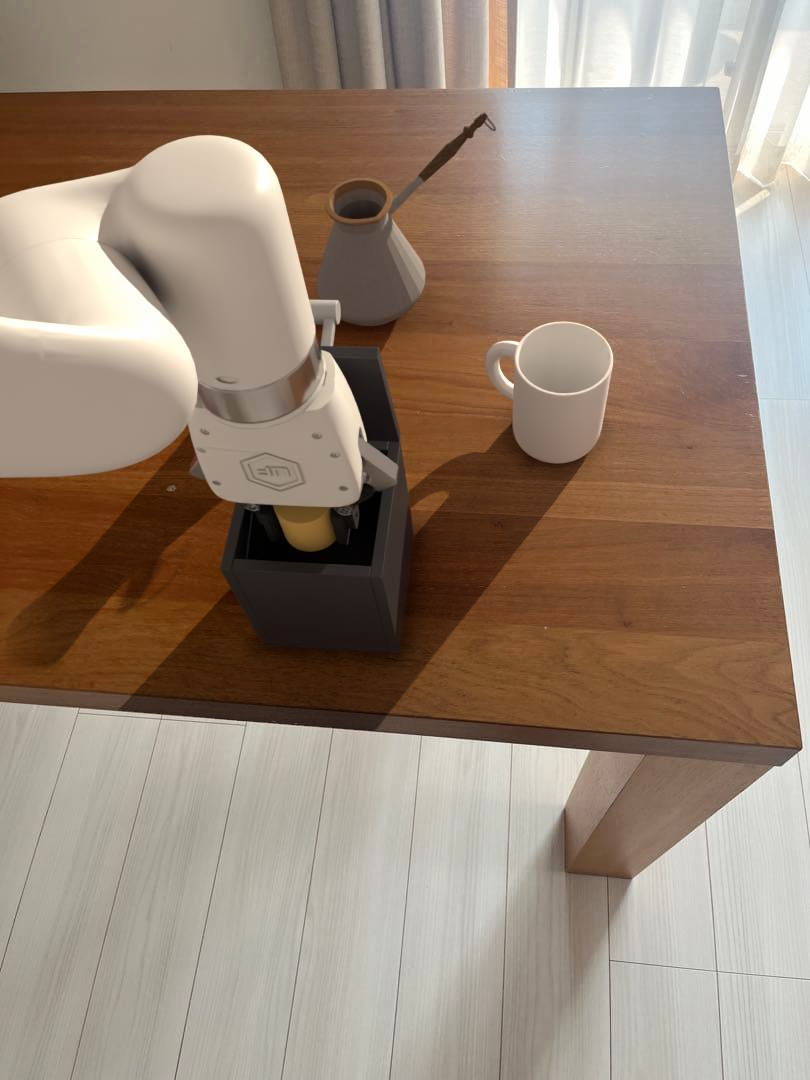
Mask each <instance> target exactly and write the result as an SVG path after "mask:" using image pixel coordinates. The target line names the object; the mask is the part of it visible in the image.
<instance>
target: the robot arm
mask: <svg viewBox="0 0 810 1080" xmlns="http://www.w3.org/2000/svg"><path fill="white" fill-rule="evenodd" d="M290 221H291V220H290V218H289V214H288V210H287V206H286V202H285V197H284V194H283V191H282V188H281V184H280V181H279V177H278V176H277V174H276V172H275V170H274V169H273V166H272V165H271V164H270V163H269V162H268V160H267V159H266V158H265V157H264V155H262V154H261V153H260V152H259V151H257V149H255V148H253V147H252V146H250V145H249V144H247V143H246V142H243V141H241V140H240V139H236V138H232V137H228V136H223V135H211V134H207V135H206V134H205V135H203V134H202V135H201V134H200V135H193V136H187V137H182V138H179V139H176V140H173V141H170V142H167V143H165V144H163V145H161V146H159V147H157V148H155V149H154V150H152V151H151V152H149V153H148V154H147V155H145V156H144V157H142V159H140V160H139V161H138V162H137V163H136V164H135V165H133V166H130V167H127V168H123V169H118V170H115V171H110V172H105V173H102V174H96V175H91V176H87V177H82V178H76V179H72V180H67V181H62V182H56V183H51V184H46V185H41V186H36V187H31V188H27V189H24V190H20V191H17V192H13V193H10V194H7V195H4V196H2V197H0V479H3V478H4V479H5V478H7V479H9V478H12V479H13V478H55V477H56V478H58V477H74V476H85V475H93V474H101V473H106V472H110V471H111V472H112V471H115V470H120V469H123V468H124V469H125V468H127V467H130V466H132V465H135V464H138V463H140V462H144V461H146V460H148V459H150V458H152V457H153V456H156V455H157V454H159V453H160V452H162V451H163V450H164V449H166V448H167V447H168V446H169V445H171V444H172V443H173V442H174V441H176V439H178V437H179V436H180V435H181V434H182V433H183V432H184V431H185V429H186V427H188V431H189V435H190V439H191V442H192V446H193V449H194V452H195V454H194V455H193V457H192V460H191V464H190V469H189V470H188V473H189V475H190V476H192V477H193V478H196V479H199V480H201V481H204V482H206V483H207V484H208V486H209V488H210V489H211V491H212V492H213V493H214V494H215V495H216V496H217V497H218V498H220V499H222V500H225V501H228V502H234V503H236V502H239V503H243V506H244V507H245V508H246V509H247V510H250V511H254V512H255V514H256V516H257V518H258V520H259V523H260V524H262V525H264V527H265V530H266V532H267V534H268V537H269V539H270V541H278V540H280V539H281V536H282V531H283V530H282V527H281V525H280V523H279V520H278V518H277V515H276V513H275V510H274V508H273V505H288V506H313V507H332V508H331V514H330V519H331V523H332V526H333V529H334V532H335V536H336V539H337V542H338V543H340V544H341V545H348V541H349V535H350V529H357V528H358V523H359V508H358V504H360V503H362V502H363V501H365V500H367V499H369V498H370V497H372V496H373V492H375V491H378V492H379V491H382V490H385V489H387V488H390V487H393V486H395V485H397V483H398V475H399V466H398V465H397V464H396V463H394V462H393V461H392V460H390V459H389V458H388V457H386V456H385V455H384V454H382V453H381V452H380V451H378V450H377V449H376V448H374V447H373V446H372V445H370V444H369V443H367V438H366V433H365V430H364V426H363V423H362V419H361V416H360V413H359V410H358V407H357V404H356V402H355V399H354V397H353V394H352V392H351V390H350V387H349V385H348V383H347V381H346V379H345V377H344V375H343V373H342V372H341V370H340V368H339V366H338V365H337V363H336V362H335V360H334V359H333V357H332V355H331V354H330V353H329V352H326V351H322V350H321V347H320V345H321V342H320V340H319V336H318V331H317V328H316V327H317V326H316V324H315V323H314V318H313V314H312V310H311V306H310V302H309V300H310V299H309V293H308V290H307V287H306V282H305V278H304V274H303V271H302V266H301V262H300V257H299V254H298V249H297V246H296V242H295V237H294V234H293V230H292V225H291V222H290Z"/></svg>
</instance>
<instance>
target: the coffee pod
mask: <svg viewBox="0 0 810 1080" xmlns="http://www.w3.org/2000/svg"><path fill="white" fill-rule="evenodd" d="M273 508H274V510H275V513H276V515H277V518H278V520H279V523H280V525H281V527H282V530H283V532H284V535H285V537H286V539H287V541H288V542H289V543H290V544H291V545H292V546H293V547H295V548H297V549H299V550H302V551H308V552H313V551H319V550H322V549H324V548H326V547H328V546H330V545H331V544H332V543H333V542H334V541H335V540H336V536H335V532H334V529H333V526H332V523H331V519H330V514H331V508H332V507H313V506H288V505H273Z"/></svg>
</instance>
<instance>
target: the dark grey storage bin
mask: <svg viewBox="0 0 810 1080" xmlns="http://www.w3.org/2000/svg"><path fill="white" fill-rule="evenodd" d="M367 443H369V444H370V445H372V446H373V447H374V448H376V449H377V450H378V451H380V452H381V453H382V454H384V455H385V456H386V457H388V458H389V459H390V460H392V461H393V462H394V463H396V464H397V465H398V466H399V475H398V483H397V485H395V486H393V487H390V488H387V489H385V490H382V491H379V492H378V491H375V492H373V496H372V497H370V498H369V499H367V500H365V501H363V502H362V503H360V504H358V508H359V523H358V528H357V529H350V535H349V541H348V545H341V544H340V543H338V542H337V539H336V540H335V541H334V542H333V543H332V544H331V545H330V546H328V547H326V548H324V549H322V550H319V551H313V552H308V551H302V550H299V549H297V548H295V547H293V546H292V545H291V544H290V543H289V542H288V541H287V539H286V537H285V535H284V532H283V531H282V536H281V539H280V540H278V541H270V539H269V537H268V534H267V532H266V530H265V527H264V525H262V524H260V523H259V520H258V518H257V516H256V514H255V512H254V511H250V510H247V509H246V508H245V507H244V506H243V503H239V502H234V507H233V508H234V509H233V512H232V516H231V520H230V524H229V528H228V533H227V537H226V541H225V545H224V549H223V553H222V558H221V562H220V566H219V570H220V571H221V572H220V573H222V575H223V577H224V578H225V580H226V582H227V584H228V586H229V587H230V589H231V591H232V593H233V595H234V596H235V598H236V600H237V602H238V603H239V605H240V607H241V608H242V610H243V612H244V614H245V616H246V617H247V620H248V622H249V623H250V625H251V627H252V628H253V630H254V632H255V634H256V635H257V637H258V639H259V641H260V643H261V644H262V646H273V647H287V648H300V649H302V648H303V649H317V650H318V649H319V650H331V651H332V650H333V651H345V652H359V653H360V652H361V653H375V654H387V655H388V654H389V655H400V654H401V647H402V639H403V630H404V622H405V612H406V605H407V598H408V597H407V596H408V588H409V579H410V570H411V563H412V556H413V555H412V554H413V547H414V546H413V545H414V536H415V530H414V523H413V516H412V510H411V509H412V508H411V502H410V496H409V489H408V482H407V476H406V469H405V462H404V456H403V448H402V443H401V441H400V442H384V441H367Z"/></svg>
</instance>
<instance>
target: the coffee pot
mask: <svg viewBox="0 0 810 1080" xmlns="http://www.w3.org/2000/svg"><path fill="white" fill-rule="evenodd" d="M486 121H488V123H489V124H490V125H491V126H492V127H491V126H490V125H489V124H488V123H487V122H486ZM483 125H485V126H486V127H487V128H488V129H489V130H490V131H492V132H496V131H497V128H496V125H495V124H494V123H493V121H492V120H491V119H490V118H489V116H488V114H487V113H486V112H483V113H480V114H479V115H478V116H477V117H476V118H474V119H473V122H472V123H471V124H470V125H465V126H464V127H463V129H462V132H461V133H460V134H458V135H457V136H456V137H455V138H453V139H452V140H450V141H449V142H448V143H446V144H444V146H443V147H442V149H440V151H439V152H438V153H437V154H436V155H435V156H434V157H433V158H432V160H431V161H430V162H429V163H428V164H427V165H426V166H425V167H424V168H423V169H422V170H421V171H420V173H418V175H417V176H416V178H415V179H413V180H412V181H411V182H410V183H409V184H408V185H407V186H406V187H405V188H404V189H402V190H401V191H400V192H399V193H398V194H397V195H396V196H395V197H394V198H393V195H392V192H391V190H390V188H389V187H388V186H387V185H386V184H385V183H384V182H382V181H380V180H378V179H375V178H371V177H370V178H369V177H354V178H349V179H346V180H344V181H341V182H339V183H337V184H336V185H335V186H333V187H332V188H331V190H329V192H328V193H327V195H326V197H325V199H324V200H325V201H324V209H325V212H326V213H327V215H328V216H329V218H331V220H333V223H332V227H331V230H330V232H329V236H328V238H327V239H328V240H327V242H326V245H325V248H324V251H323V253H322V254H323V255H322V257H321V260H320V264H319V267H318V271H317V275H316V281H315V289H316V293H317V297H318V298H319V300H338V301H339V302H340V308H341V317H340V321H344V322H345V323H348V324H353V325H359V326H362V327H363V326H364V327H377V326H382V325H386V324H389V323H391V322H393V321H395V320H397V319H399V318H401V317H402V316H404V315H406V313H408V312H409V311H411V309H412V308H413V307H414V306H415V305H416V303H418V301H419V299H420V297H421V295H422V293H423V290H424V288H425V285H426V275H427V274H426V273H427V272H426V270H425V266H424V263H423V261H422V259H421V258H420V256H419V255H418V253H417V251H416V250H415V249H414V248H413V246H412V244H410V242H409V241H408V240H407V238H406V237H405V235H404V234H403V232H402V230H400V228H399V226H398V225H397V223H396V222H395V220H393V218H392V215H393V214H394V213H395V212H396V211H397V210H398V209H399V208H400V207H401V206H402V205H403V204H404V203H405V202H406V201H407V200H408V199H409V198H410V197H411V195H412V194H414V192H416V190H418V188H419V187H420V186H421V185H422V184H423V183H425V182H427V181H428V180H429V179H430V178H431V177H432V176H433V175H434V174H436V172H438V171H439V170H440V169H441V168H442V167H443V166H444V165H446V164H448V162H449V161H450V160H451V159H452V158H453V157H455V156H456V155H457V153H458V152H459V151H460V150H461V148H462V146H464V145H465V143H466V141H467V140H469V139H473V138H474V135H475V132H476V131H477V130H478V129H480V128H482V126H483Z"/></svg>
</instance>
